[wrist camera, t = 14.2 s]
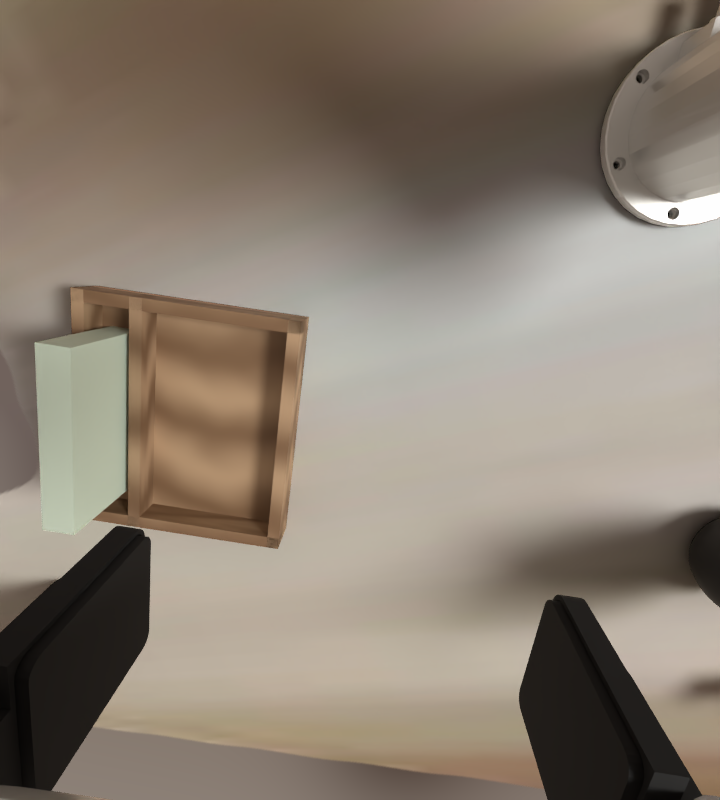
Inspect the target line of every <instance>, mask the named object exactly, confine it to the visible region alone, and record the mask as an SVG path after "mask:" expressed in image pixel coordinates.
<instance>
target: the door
mask: <svg viewBox="0 0 720 800" xmlns="http://www.w3.org/2000/svg"><path fill="white" fill-rule="evenodd" d="M35 366H36V390H37V414H38V439H39V463H40V487H41V511H42V530H46V531H52V532H58V533H64V534H70V535H75V534H76V533H77V532H79V531H80V530H81V529H82V528H83V527H84V526H86V525H87V524H88V523H89V522H90V521H92V520H93V519H94V518H95V517H96V516H97V515H99V514H100V513H101V512H102V511H103V510H104V509H106V508H107V507H108V506H109V505H110V504H111V503H113V502H114V501H115V500H116V499H117V498H119V497H120V496H121V495H122V494H123V493H124V492H126V491H127V490H128V423H129V329H127V328H121V327H115V326H110V327H105V328H100V329H95V330H91V331H86V332H81V333H76V334H72V335H67V336H62V337H57V338H53V339H48V340H43V341H38V342H35Z"/></svg>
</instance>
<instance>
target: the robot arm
mask: <svg viewBox="0 0 720 800" xmlns="http://www.w3.org/2000/svg"><path fill="white" fill-rule="evenodd" d="M719 3H720V0H719ZM636 78H638V79H639V83H638V82H637V80H636ZM600 154H601V163H602V169H603V172H604V175H605V178H606V182H607V184H608V186H609V188H610V189H611V191H612V193H613V195H614V197H615V198H616V199H617V200H618V201H619V202H620V203H621V205H622V206H623V207H624V208H625V209H626V210H628V211H629V212H630V213H632V214H633V215H635V216H636V217H637V218H640V219H642V220H644V221H647V222H649V223H651V224H656V225H661V226H666V227H684V226H690V225H697V224H701V223H705V222H708V221H712V220H715V219H717V218H719V217H720V4H719V7H718V11H717V14H716V17H714V18H712V19H711V20H710V22H709V23H708V24H707V25H706V26H705V27H701V28H697V29H693V30H689V31H686V32H684V33H681V34H679V35H677V36H675V37H673V38H670V39H668V40H667V41H665V42H664V43H663V44H661V45H660V46H658V47H657V48H655V49H654V50H652V51H651V52H650V53H649V54H648V55H646V56H645V57H644V58H643V59H642V60H641V61H639V62H638V63H637V64H636V66H635V67H634V68H633V69H632V70H631V71H630V72H629V73H628V75H627V76H626V77H625V78H624V80H623V81H622V83H621V84H620V86H619V87H618V89H617V91H616V92H615V94H614V96H613V98H612V100H611V102H610V105H609V107H608V109H607V112H606V115H605V119H604V123H603V127H602V131H601V144H600ZM613 163H616V164H617V168H616V169H614V167H613ZM668 212H669V217H667V213H668ZM150 555H151V540H150V538H149V537H145V535H144V531H143V530H141V529H135V528H129V527H123V526H116V527H115V528H113V529H112V530H111V531H110V532H109V533H108V534H107V535H106V536H105V537H104V538H103V539H102V540H101V541H100V542H99V543H98V544H96V545H95V546H94V547H93V548H92V549H91V550H90V551H89V552H88V553H87V554H86V555H85V556H84V557H83V558H82V559H81V560H80V561H79V562H77V563H76V564H75V565H74V566H73V567H72V568H71V569H70V570H69V571H68V572H67V573H66V574H65V575H64V576H63V577H62V578H61V579H59V580H57V581H56V582H54V583H53V584H52V585H50V586H49V587H48V588H47V589H46V590H45V591H44V592H43V593H42V594H41V595H40V596H39V597H38V598H37V599H36V600H34V601H33V602H32V603H31V604H30V605H29V606H28V607H27V608H26V609H25V610H24V611H23V612H22V613H21V614H20V615H19V616H17V617H16V618H15V619H14V620H13V621H12V622H11V623H10V624H9V625H8V626H7V627H6V628H5V629H4V630H3V631H2V632H0V800H111V799H104V798H97V797H90V796H83V795H75V794H69V793H61V792H54V791H51V790H52V789H53V787H54V786H55V784H56V783H57V781H58V779H59V778H60V776H61V775H62V773H63V772H64V770H65V769H66V767H67V766H68V764H69V763H70V761H71V759H72V758H73V756H74V755H75V753H76V752H77V750H78V749H79V747H80V745H81V744H82V742H83V741H84V739H85V738H86V736H87V735H88V733H89V731H90V730H91V728H92V727H93V725H94V724H95V722H96V721H97V719H98V717H99V716H100V714H101V713H102V711H103V710H104V708H105V707H106V705H107V704H108V702H109V700H110V699H111V697H112V696H113V694H114V693H115V691H116V690H117V688H118V686H119V685H120V683H121V682H122V680H123V679H124V677H125V676H126V674H127V672H128V671H129V669H130V668H131V666H132V665H133V663H134V662H135V660H136V658H137V657H138V655H139V654H140V652H141V651H142V649H143V647H144V646H145V643H146V641H147V638H148V633H149V605H150ZM519 703H520V709H521V713H522V716H523V719H524V723H525V726H526V729H527V732H528V736H529V739H530V742H531V746H532V749H533V752H534V756H535V759H536V762H537V766H538V769H539V772H540V776H541V779H542V782H543V786H544V789H545V792H546V796H547V799H548V800H720V797H717V796H709V795H703V796H702V794H701V792H700V791H699V789H698V787H697V786H696V784H695V782H694V781H693V779H692V777H691V776H690V774H689V772H688V771H687V769H686V767H685V766H684V764H683V762H682V761H681V759H680V757H679V756H678V754H677V752H676V751H675V749H674V747H673V746H672V744H671V742H670V740H669V739H668V737H667V735H666V734H665V732H664V730H663V729H662V727H661V725H660V724H659V722H658V720H657V719H656V717H655V715H654V714H653V712H652V710H651V709H650V707H649V705H648V704H647V702H646V700H645V699H644V697H643V695H642V694H641V692H640V690H639V688H638V687H637V685H636V683H635V682H634V680H633V678H632V677H631V675H630V674H629V673H628V671H627V670H626V668H625V667H624V665H623V663H622V662H621V660H620V658H619V657H618V655H617V653H616V652H615V650H614V648H613V647H612V645H611V643H610V641H609V640H608V638H607V636H606V635H605V633H604V631H603V630H602V628H601V626H600V625H599V623H598V621H597V620H596V618H595V616H594V614H593V613H592V611H591V609H590V608H589V606H588V604H587V603H586V601H585V600H584V599H582V598H576V597H570V596H563V595H556V596H555V597H554V599H553V600H548V601H547V602H546V604H545V606H544V610H543V613H542V616H541V620H540V623H539V627H538V630H537V633H536V637H535V640H534V644H533V647H532V650H531V654H530V657H529V661H528V664H527V667H526V671H525V674H524V677H523V681H522V684H521V688H520V692H519Z"/></svg>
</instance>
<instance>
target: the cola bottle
mask: <svg viewBox="0 0 720 800" xmlns="http://www.w3.org/2000/svg"><path fill="white" fill-rule="evenodd" d="M689 563H690V567H691V570H692V573H693V575H694V577H695V579H696V581H697V583H698V584H699V586H700V587H701V589H702V590H703V591H704V593H705V594H706V595H707V596H708V597H709V598H710V599H711V600H712V601H713V602H714V603H715V604H716V605H718V606H719V607H720V518H719V519H716V520H714V521H712V522H710V523H709V524H707V525H706V526H705V527H703V528H702V529H701V530H700V531H699V532H698V533H697V535H696V536H695V538H694V539H693V541H692V543H691V546H690V550H689Z"/></svg>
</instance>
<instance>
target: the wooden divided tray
mask: <svg viewBox="0 0 720 800" xmlns="http://www.w3.org/2000/svg"><path fill="white" fill-rule="evenodd" d="M70 290H71V325H72V334H76V333H81V332H86V331H91V330H95V329H100V328H105V327H110V326H115V327H121V328H127V329H129V423H128V490H127V491H126V492H124V493H123V494H122V495H121V496H120V497H119V498H117V499H116V500H115V501H114V502H113V503H111V504H110V505H109V506H108V507H107V508H106V509H104V510H103V511H102V512H101V513H100V514H99V515H97V516H96V517H95V518H94V519H93V520H96V521H103V522H109V523H116V524H122V525H128V526H135V527H141V528H147V529H154V530H160V531H167V532H173V533H179V534H186V535H192V536H199V537H205V538H211V539H218V540H224V541H231V542H237V543H243V544H250V545H256V546H263V547H269V548H275V549H278V547H279V544H280V542H281V539H282V537H283V534H284V531H285V529H286V523H287V513H288V504H289V495H290V486H291V477H292V468H293V458H294V449H295V440H296V431H297V422H298V413H299V403H300V394H301V385H302V376H303V367H304V358H305V348H306V339H307V330H308V321H309V317H305V316H298V315H291V314H284V313H278V312H271V311H264V310H257V309H251V308H244V307H237V306H230V305H224V304H217V303H210V302H203V301H197V300H190V299H183V298H176V297H170V296H163V295H156V294H149V293H142V292H136V291H129V290H122V289H115V288H109V287H102V286H86V287H70ZM72 334H68V335H72ZM66 336H67V335H66Z"/></svg>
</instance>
